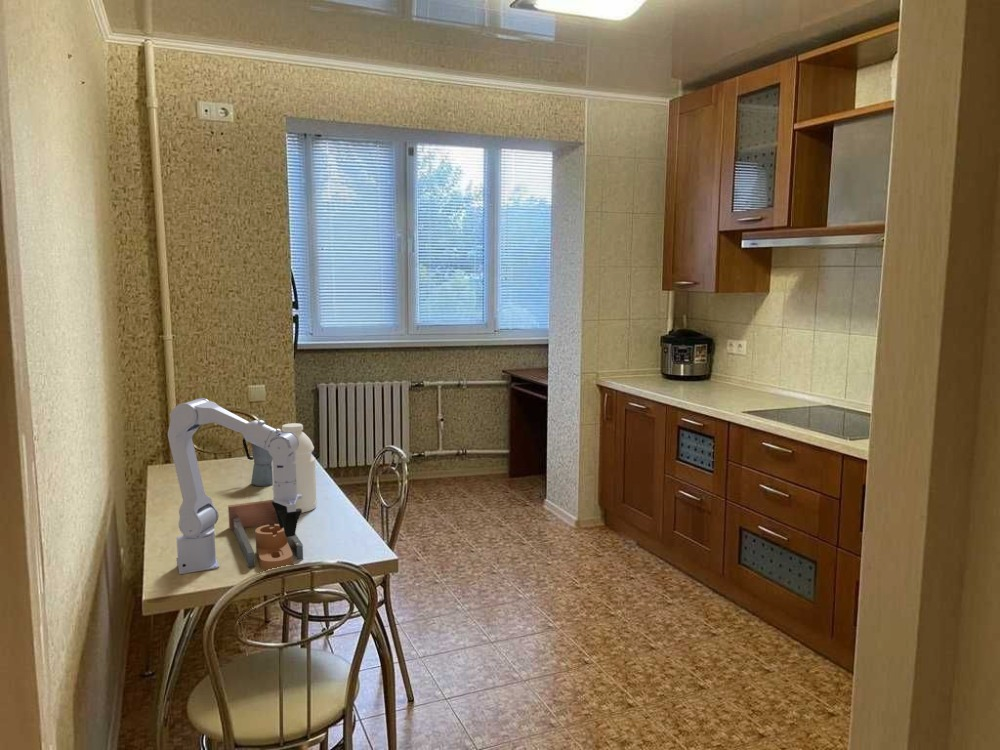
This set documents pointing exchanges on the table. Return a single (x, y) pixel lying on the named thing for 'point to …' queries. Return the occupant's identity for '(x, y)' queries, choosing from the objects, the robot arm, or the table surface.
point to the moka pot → (260, 465)
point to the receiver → (256, 516)
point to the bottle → (303, 468)
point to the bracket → (272, 547)
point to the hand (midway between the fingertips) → (287, 531)
